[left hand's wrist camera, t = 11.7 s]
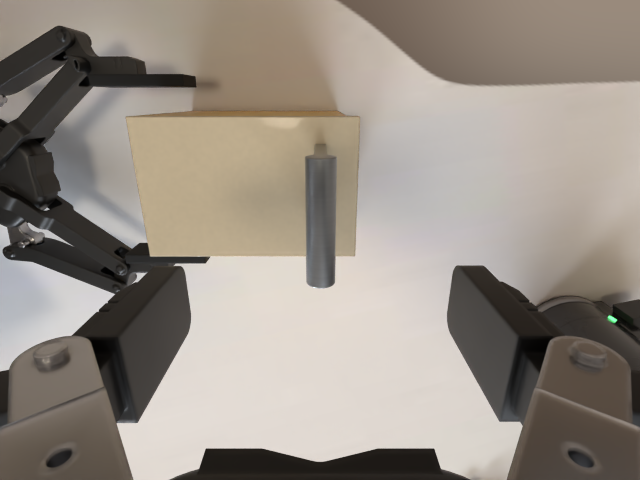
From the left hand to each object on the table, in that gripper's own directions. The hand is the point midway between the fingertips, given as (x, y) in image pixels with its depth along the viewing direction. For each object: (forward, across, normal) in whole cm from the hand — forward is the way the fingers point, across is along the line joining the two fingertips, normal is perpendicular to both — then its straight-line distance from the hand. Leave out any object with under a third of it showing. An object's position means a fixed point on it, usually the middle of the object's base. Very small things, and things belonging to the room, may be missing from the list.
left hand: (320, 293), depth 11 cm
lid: (+14, -5, 0) cm, 15 cm away
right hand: (+19, -9, 0) cm, 21 cm away
